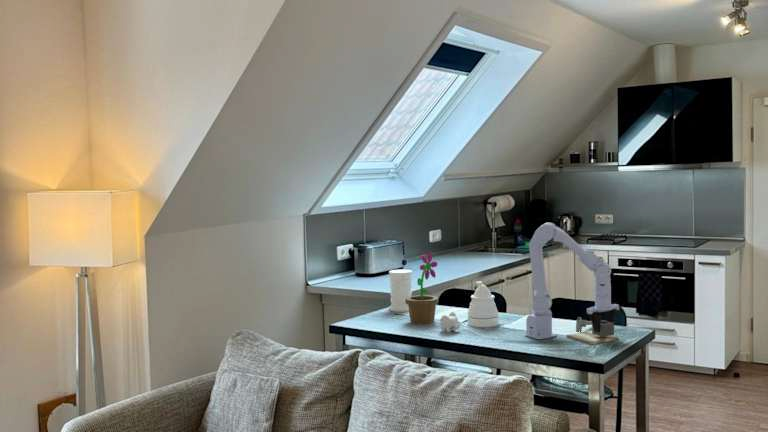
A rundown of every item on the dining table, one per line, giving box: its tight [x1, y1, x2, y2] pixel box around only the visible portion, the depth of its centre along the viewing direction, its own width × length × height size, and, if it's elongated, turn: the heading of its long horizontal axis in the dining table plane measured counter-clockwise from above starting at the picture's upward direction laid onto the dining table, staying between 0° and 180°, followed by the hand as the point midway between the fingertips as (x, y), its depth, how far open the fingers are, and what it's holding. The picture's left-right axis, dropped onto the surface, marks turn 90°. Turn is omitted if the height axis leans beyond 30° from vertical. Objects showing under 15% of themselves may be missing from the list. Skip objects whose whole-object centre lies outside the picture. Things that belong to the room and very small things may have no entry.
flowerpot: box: [405, 251, 440, 325], centre depth 318 cm, size 14×14×30 cm
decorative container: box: [388, 269, 413, 313], centre depth 346 cm, size 12×12×18 cm
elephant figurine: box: [439, 311, 463, 333], centre depth 299 cm, size 8×10×7 cm
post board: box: [566, 330, 620, 345], centre depth 281 cm, size 14×13×5 cm
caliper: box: [575, 316, 592, 333], centre depth 298 cm, size 21×1×6 cm, turn 140°
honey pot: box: [467, 281, 499, 328], centre depth 311 cm, size 13×13×18 cm
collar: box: [591, 319, 615, 337], centre depth 279 cm, size 6×6×4 cm
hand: (603, 330), depth 279 cm, fingers closed on collar, 6 cm apart
